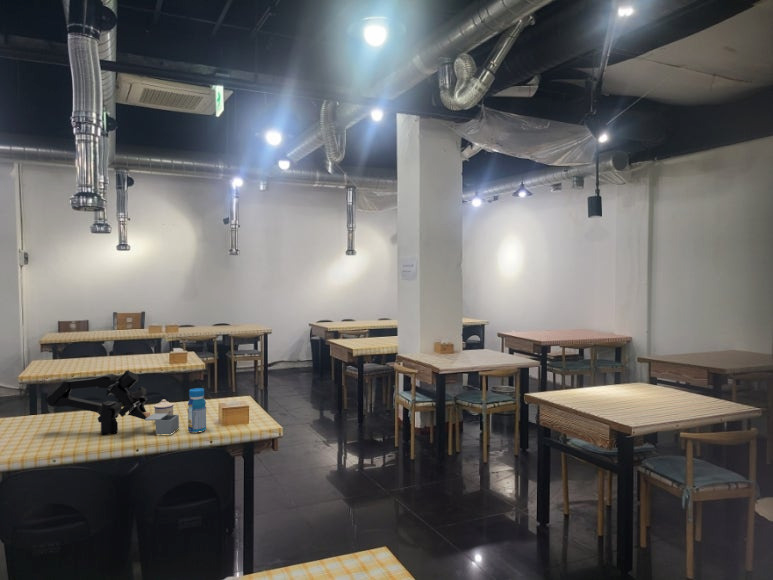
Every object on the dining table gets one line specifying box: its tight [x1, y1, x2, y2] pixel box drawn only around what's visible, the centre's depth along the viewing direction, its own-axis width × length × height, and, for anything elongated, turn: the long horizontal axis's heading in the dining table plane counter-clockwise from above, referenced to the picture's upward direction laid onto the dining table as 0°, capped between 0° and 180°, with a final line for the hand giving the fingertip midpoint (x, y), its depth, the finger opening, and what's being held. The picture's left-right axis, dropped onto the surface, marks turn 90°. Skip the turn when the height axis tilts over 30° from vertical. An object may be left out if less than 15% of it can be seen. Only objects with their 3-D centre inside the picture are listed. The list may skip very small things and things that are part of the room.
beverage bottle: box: [187, 387, 207, 433], centre depth 248 cm, size 8×8×20 cm
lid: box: [142, 411, 168, 422], centre depth 246 cm, size 11×10×2 cm
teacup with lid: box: [153, 399, 174, 425], centre depth 264 cm, size 12×9×12 cm
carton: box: [155, 414, 180, 435], centre depth 246 cm, size 7×10×7 cm
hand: (146, 418), depth 246 cm, fingers closed on lid, 2 cm apart
